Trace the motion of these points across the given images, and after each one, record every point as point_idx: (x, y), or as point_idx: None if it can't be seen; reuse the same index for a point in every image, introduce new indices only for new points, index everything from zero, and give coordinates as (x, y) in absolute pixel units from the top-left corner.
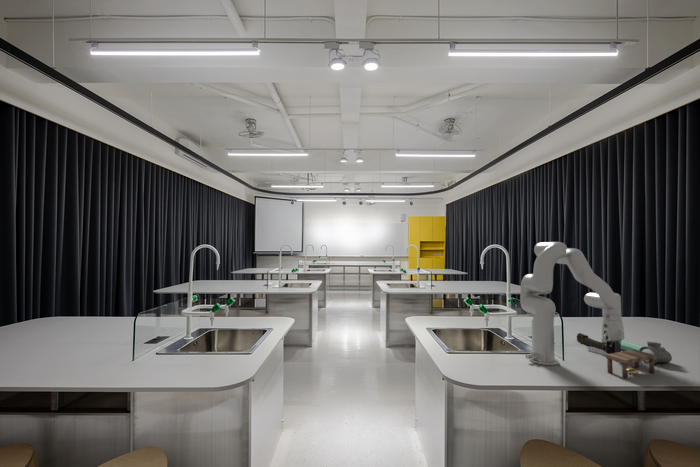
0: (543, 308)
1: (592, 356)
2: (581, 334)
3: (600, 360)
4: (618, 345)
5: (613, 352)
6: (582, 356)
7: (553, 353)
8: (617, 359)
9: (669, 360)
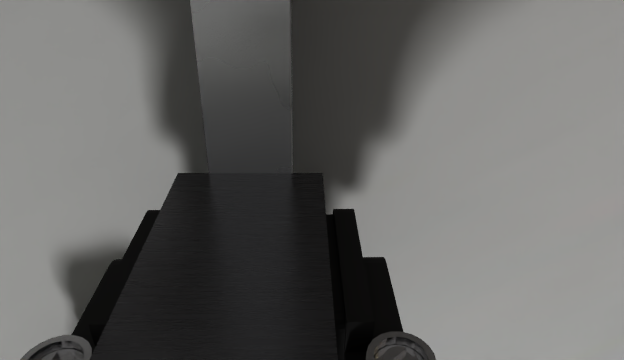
0: None
1: (487, 321)
2: None
3: (594, 193)
4: (213, 316)
5: (348, 231)
6: (602, 352)
7: None
8: None
9: None
